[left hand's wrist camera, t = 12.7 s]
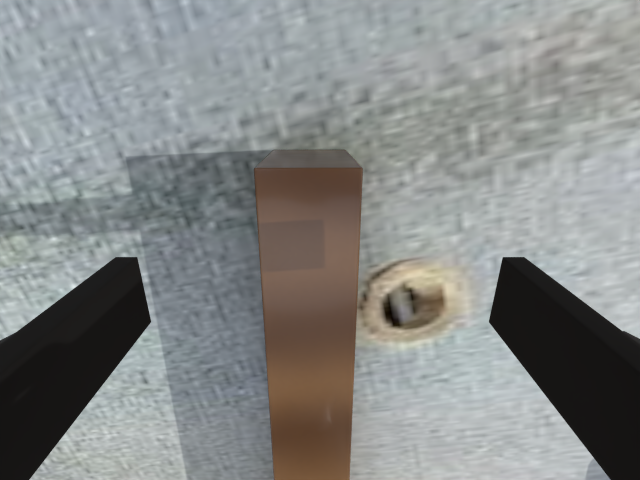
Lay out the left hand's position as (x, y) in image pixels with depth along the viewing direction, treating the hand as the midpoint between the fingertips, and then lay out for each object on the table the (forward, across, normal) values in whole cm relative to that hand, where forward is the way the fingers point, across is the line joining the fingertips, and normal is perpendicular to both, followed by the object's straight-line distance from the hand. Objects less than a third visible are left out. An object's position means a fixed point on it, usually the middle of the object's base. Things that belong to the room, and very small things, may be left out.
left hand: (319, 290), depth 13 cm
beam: (+14, -1, -23) cm, 27 cm away
